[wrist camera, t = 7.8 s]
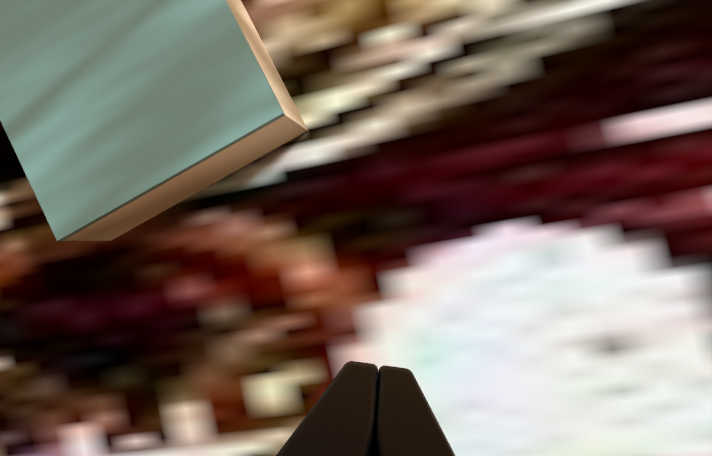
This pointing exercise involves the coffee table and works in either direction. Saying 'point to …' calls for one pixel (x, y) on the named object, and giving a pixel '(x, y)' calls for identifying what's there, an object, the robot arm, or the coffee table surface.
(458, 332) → the coffee table surface
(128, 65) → the tile
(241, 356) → the coffee table surface
